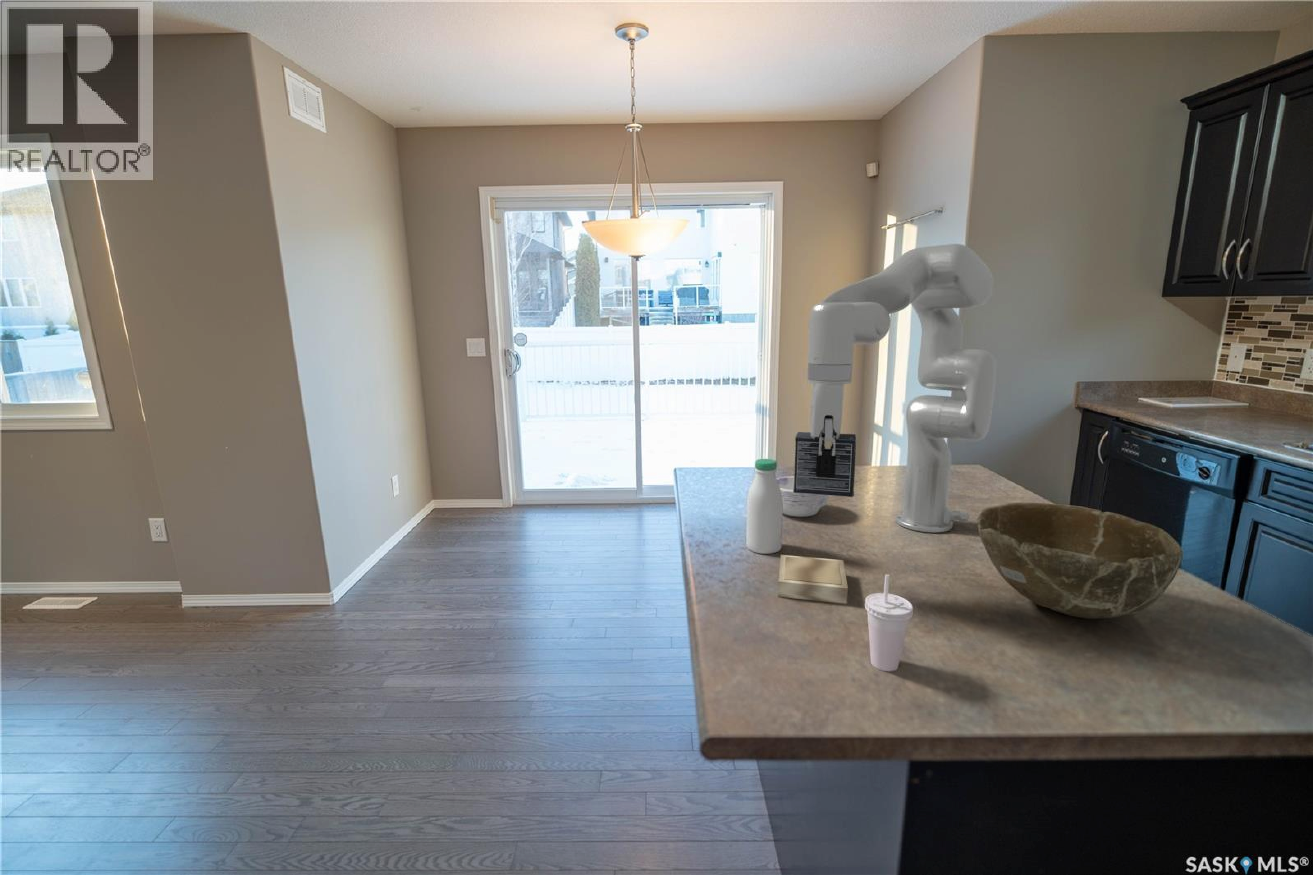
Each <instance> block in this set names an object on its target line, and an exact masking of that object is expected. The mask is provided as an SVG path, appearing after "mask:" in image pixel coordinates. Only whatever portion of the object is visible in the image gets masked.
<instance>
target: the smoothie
mask: <svg viewBox="0 0 1313 875" xmlns="http://www.w3.org/2000/svg"><path fill="white" fill-rule="evenodd" d="M884 575H885V576H884V587H883V592H878V593H876V592H874V593H871V594H868V596H866V598H865V601H864V602H865V603H864V608H865V610H866V611H867V612H866V613H867V625H868V626H867V627H868V640H869V654H870V663H871V665H872V666H873V667H874V668H876V669H878V670H880V671H884V672H894V671H896V670H898V667H899V663H900V661H901V660H900V659H901V656H902V651H903V647H904V642H905V639H906V636H907V631H908V630H907V629H908V625H909V622H910V619H911V618H912V617H913V615H914V612H913V610H914V607H913V604H912V603H911V602H910V601H908V600H907V599H906V598H904V597H902V596H899V595H897V594H893V593H889V586H890V574H887V573H886V574H884Z"/></svg>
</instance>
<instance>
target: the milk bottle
mask: <svg viewBox="0 0 1313 875" xmlns="http://www.w3.org/2000/svg"><path fill="white" fill-rule="evenodd" d="M777 466H778V463H777V461H776V460H774V459H773V458H772V459H771V458H759V459H756V460H755V461H754V471H755V475H754V479H753V481H752V483H751V485H750V487H749V490H748V492H747V493H748V494H747V502H746V532H745V535H746V537H745V539H746V540H745V541H746V544H745V545H746V547H747V549H748V550H749V551H750V552H753V553H757V554H761V555H762V554H763V555H768V554H769V555H770V554H771V555H772V554H775V553H777V552H779V551H781V548H782V545H783V544H782V542H783V515H784V514H783V499H782V493H781V490H780V487H779V485H778V483H777V480H776V478H777V477H776V472H777V468H778V467H777Z"/></svg>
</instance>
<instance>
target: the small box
mask: <svg viewBox="0 0 1313 875" xmlns="http://www.w3.org/2000/svg"><path fill="white" fill-rule="evenodd" d="M821 437H825V435H821ZM794 438H795V439H794V441H795V446H794V447H795V448H794V451H795V452H794V474H793V475H794V488H793V492H794V493H807V494H821V495H828V496H835V497H846V498H847V497H848V498H853V497H854V496H855V491H854V490H855V472H856V454H857V453H856V451H857V435H856V434H854V433H840V437H839V439H837V440H835V455H836V464H835V477H834V478H826V477H817V476H816V462H817V454H818V453H819V437H815V439H812V438H811V436H810V431H809V432H807V431H798V432H797V433H796V434H795V437H794ZM832 438H833V435H832ZM835 439H836V438H835ZM822 443H823V442H822Z"/></svg>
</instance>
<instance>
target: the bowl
mask: <svg viewBox="0 0 1313 875" xmlns="http://www.w3.org/2000/svg"><path fill="white" fill-rule="evenodd" d="M976 521H977V528H978V533H979V536H980V540H981V543H982V544H983V546H984V549H985V551H986V553H987V556H988V557H989V559H990V561H991V563H992V564H993V566H994V568H995V569H996V571H997V572H998V573H999V575H1000V576H1001V577H1002V578H1003V579H1004V581H1005V582H1007V584H1008V585H1010V586H1011V587H1012V588H1013V589H1014V590H1015V591H1016V592H1017V593H1019V594H1020V596H1021V595H1022V596H1023V597H1024V598H1026V599H1028V600H1029V601H1030V602H1032V603H1034V604H1036V605H1038V606H1041V607H1043V608H1045V607H1046V608H1048V609H1049V610H1053V611H1055V612H1058V613H1061V614H1064V615H1067V616H1071V617H1076V618H1081V619H1095V620H1096V619H1098V620H1099V619H1111V618H1116V617H1117V618H1118V617H1123V616H1124V617H1125V616H1128V615H1132V614H1135V613H1138V612H1141V611H1143V610H1145V609H1146V608H1148V607H1149V606H1151V605H1153V604H1154V603H1155V602H1156V601H1158V600H1159V598H1160V597H1162V595H1163V594H1164V593H1165V591H1166V590H1167V589H1168V587H1169V586H1170V585H1171V583H1172V582H1173V581H1174V579H1175V577H1176V575H1177V574H1178V571H1179V569H1180V566H1181V563H1182V560H1183V555H1184V552H1183V549H1182V547H1181V546H1180V544H1179V542H1178V541H1177V540H1175V539H1174V537H1173V536H1171V535H1170V534H1169V533H1168V532H1166V531H1165V530H1164V529H1163V528H1160V527H1158V526H1155V525H1154V524H1150V523H1147V522H1144V521H1143V522H1142V521H1140V520H1137V519H1136V518H1135V519H1134V518H1132V517H1128V516H1126V515H1122V514H1120V513H1116V512H1115V513H1114V512H1110V511H1105V512H1103V511H1102V510H1100V509H1095V508H1094V509H1093V508H1089V507H1087V506H1086V507H1085V506H1080V505H1072V504H1061V503H1046V502H1044V503H1043V502H1010V503H1005V504H1003V503H1002V504H998V505H993V506H989V507H988V506H987V507H984V508H983V509H981V510H980V511H979V513H978V514H977V517H976Z"/></svg>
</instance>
